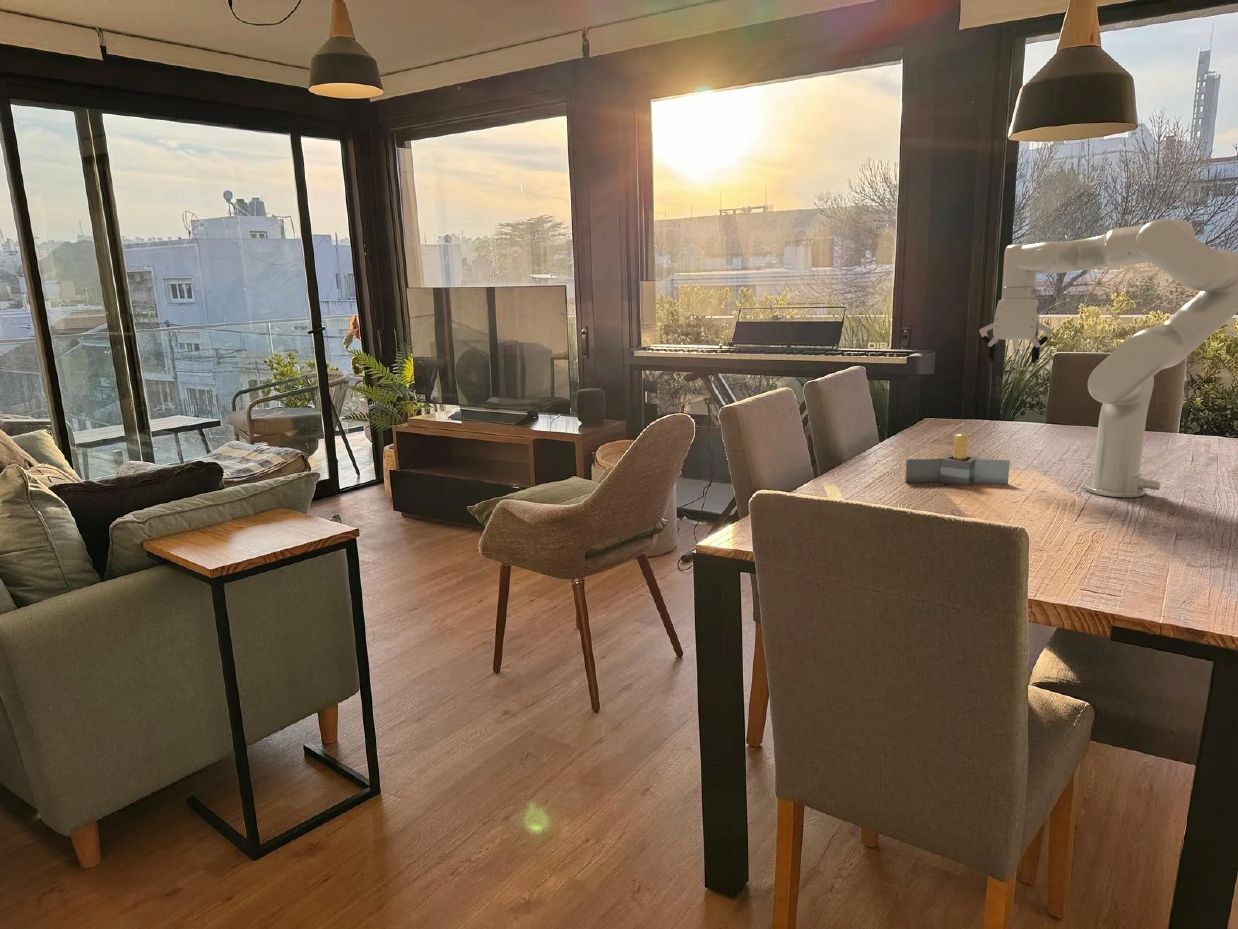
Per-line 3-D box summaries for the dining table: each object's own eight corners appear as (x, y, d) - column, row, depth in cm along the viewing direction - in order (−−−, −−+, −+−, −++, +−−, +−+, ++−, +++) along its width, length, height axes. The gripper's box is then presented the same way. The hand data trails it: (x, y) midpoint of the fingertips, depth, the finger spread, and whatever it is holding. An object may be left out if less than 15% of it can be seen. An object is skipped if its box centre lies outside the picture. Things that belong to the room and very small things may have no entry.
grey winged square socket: (1008, 483, 210) (1010, 460, 209) (993, 494, 200) (995, 470, 199) (922, 472, 223) (923, 450, 222) (904, 482, 213) (905, 459, 212)
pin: (966, 480, 214) (969, 434, 211) (962, 483, 211) (966, 436, 209) (953, 479, 216) (956, 433, 213) (949, 481, 213) (952, 435, 211)
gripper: (1058, 293, 210) (1053, 361, 214) (985, 294, 220) (981, 360, 224) (1053, 294, 204) (1047, 364, 208) (978, 295, 214) (974, 362, 218)
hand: (1013, 362), depth 216 cm, fingers open, 9 cm apart
